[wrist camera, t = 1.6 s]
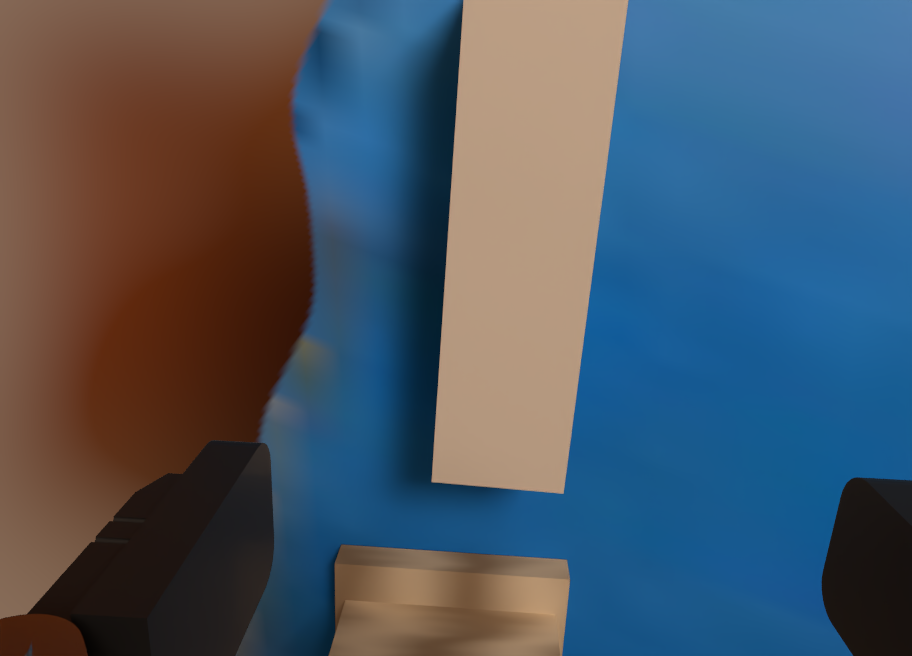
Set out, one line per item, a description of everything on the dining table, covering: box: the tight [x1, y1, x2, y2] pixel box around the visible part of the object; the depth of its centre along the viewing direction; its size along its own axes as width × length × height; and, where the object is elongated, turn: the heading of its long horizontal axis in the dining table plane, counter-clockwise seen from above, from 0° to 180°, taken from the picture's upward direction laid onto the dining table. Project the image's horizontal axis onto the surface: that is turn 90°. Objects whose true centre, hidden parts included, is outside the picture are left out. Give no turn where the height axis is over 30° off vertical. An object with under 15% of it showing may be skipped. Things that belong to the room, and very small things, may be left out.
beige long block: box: [432, 0, 628, 493], centre depth 27 cm, size 5×18×6 cm, turn 176°
